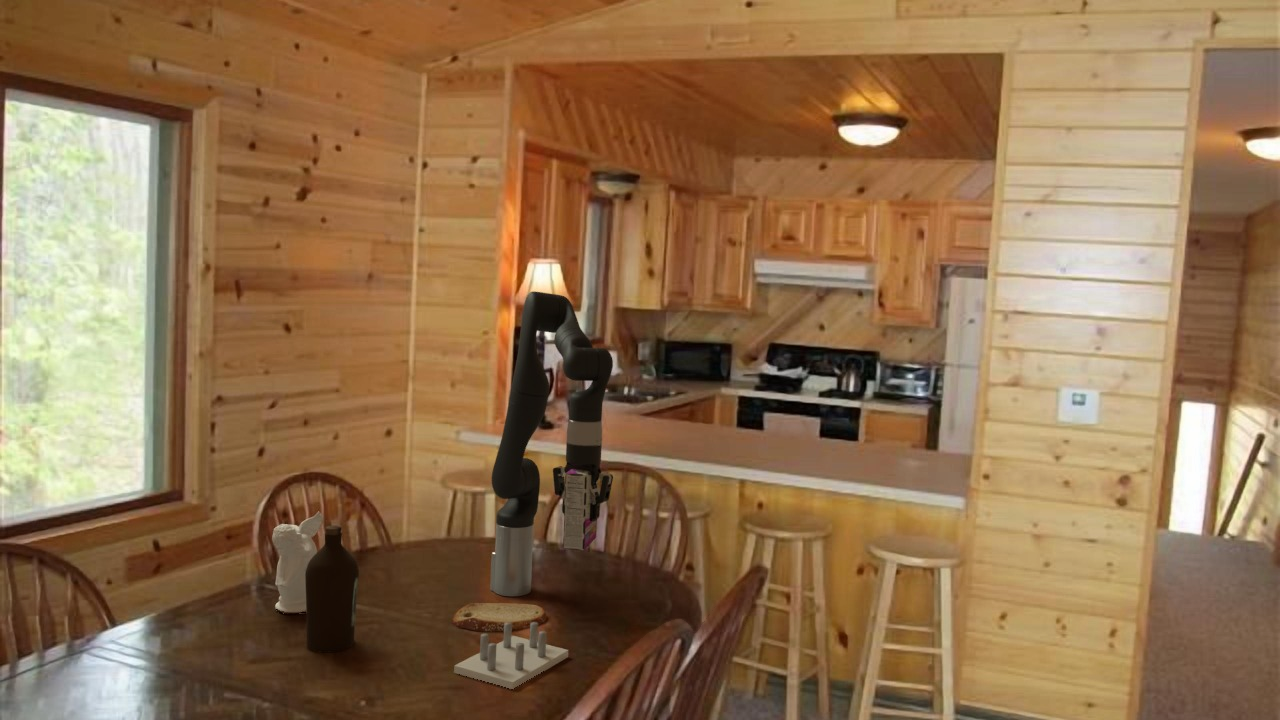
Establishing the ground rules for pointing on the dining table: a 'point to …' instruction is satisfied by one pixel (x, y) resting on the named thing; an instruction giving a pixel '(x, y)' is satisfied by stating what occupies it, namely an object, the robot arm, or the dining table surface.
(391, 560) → the dining table surface
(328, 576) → the olive oil
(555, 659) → the pin tray
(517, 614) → the bread slice
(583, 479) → the candy bar box
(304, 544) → the cherub figurine
